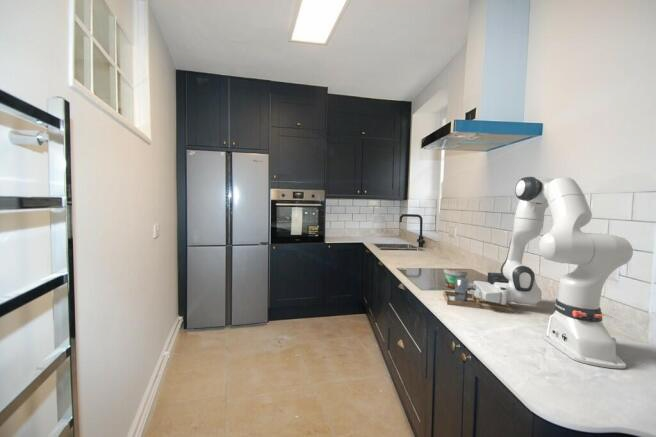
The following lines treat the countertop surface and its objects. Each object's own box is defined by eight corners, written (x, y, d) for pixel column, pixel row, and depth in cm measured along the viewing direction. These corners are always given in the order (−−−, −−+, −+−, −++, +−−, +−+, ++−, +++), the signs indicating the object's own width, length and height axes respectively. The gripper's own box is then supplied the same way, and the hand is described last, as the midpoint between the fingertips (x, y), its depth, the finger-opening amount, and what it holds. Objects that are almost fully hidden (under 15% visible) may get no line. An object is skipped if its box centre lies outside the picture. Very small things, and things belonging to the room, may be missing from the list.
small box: (506, 291, 155) (507, 272, 154) (512, 295, 148) (514, 276, 148) (485, 290, 156) (487, 271, 155) (491, 294, 150) (493, 274, 149)
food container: (443, 288, 157) (444, 270, 156) (442, 285, 163) (443, 268, 162) (467, 291, 153) (469, 273, 152) (466, 288, 159) (467, 270, 158)
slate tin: (468, 304, 134) (469, 281, 133) (455, 302, 136) (457, 280, 135) (465, 300, 140) (467, 278, 139) (453, 298, 141) (454, 277, 140)
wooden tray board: (515, 312, 126) (515, 307, 125) (447, 304, 133) (447, 300, 132) (504, 301, 139) (504, 297, 139) (443, 294, 146) (443, 290, 146)
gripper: (493, 279, 143) (463, 276, 146) (507, 292, 123) (472, 288, 127) (492, 291, 143) (462, 288, 147) (506, 306, 124) (471, 302, 127)
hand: (467, 288), depth 137 cm, fingers open, 8 cm apart
